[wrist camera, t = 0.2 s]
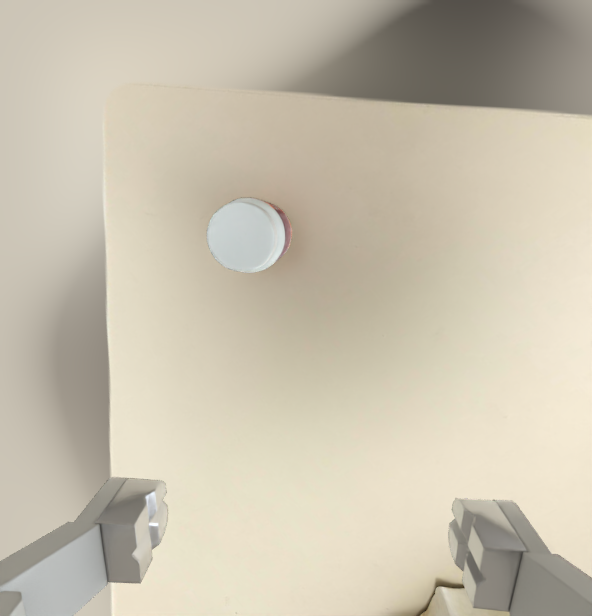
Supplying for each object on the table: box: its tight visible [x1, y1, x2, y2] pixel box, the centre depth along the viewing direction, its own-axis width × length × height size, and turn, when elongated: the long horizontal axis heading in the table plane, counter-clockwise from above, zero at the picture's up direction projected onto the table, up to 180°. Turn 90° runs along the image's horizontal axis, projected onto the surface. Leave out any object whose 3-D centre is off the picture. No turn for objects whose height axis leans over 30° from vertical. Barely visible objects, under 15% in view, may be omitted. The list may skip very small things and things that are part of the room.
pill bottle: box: [207, 198, 292, 273], centre depth 25 cm, size 5×5×8 cm
